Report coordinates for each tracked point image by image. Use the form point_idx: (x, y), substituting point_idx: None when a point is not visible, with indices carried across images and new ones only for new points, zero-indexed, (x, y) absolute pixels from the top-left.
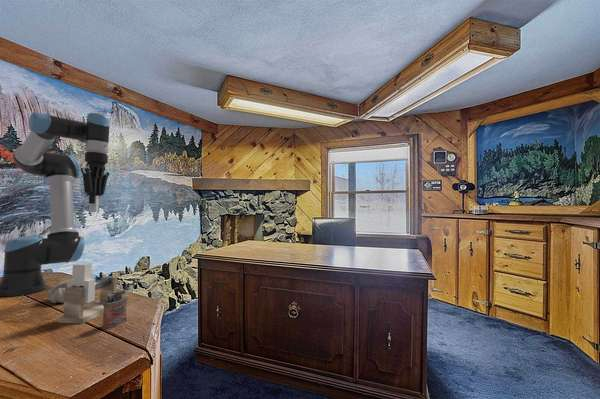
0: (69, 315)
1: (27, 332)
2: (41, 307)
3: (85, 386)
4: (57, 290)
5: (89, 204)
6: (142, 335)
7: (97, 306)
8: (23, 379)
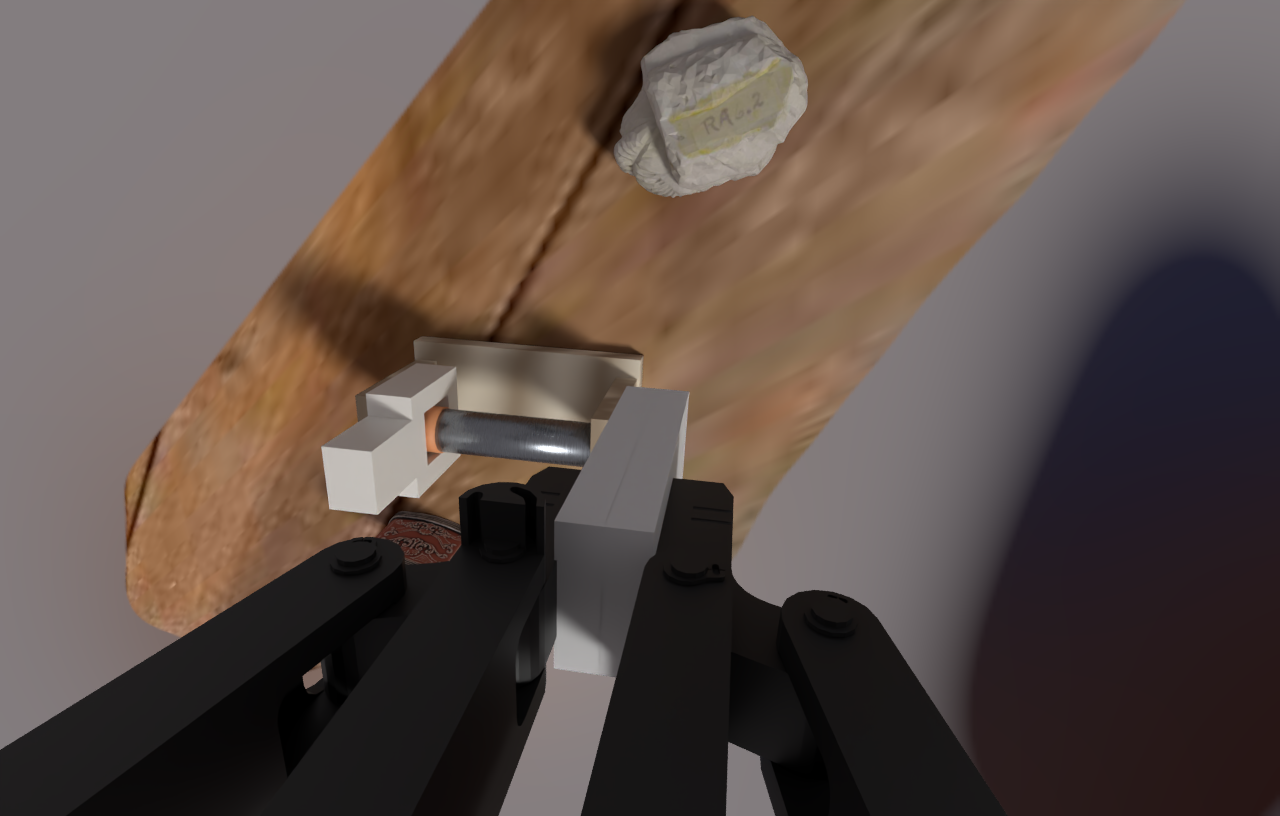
0: None
1: (330, 302)
2: (587, 101)
3: (154, 626)
4: (632, 132)
5: (604, 433)
6: None
7: (553, 404)
8: (138, 505)
